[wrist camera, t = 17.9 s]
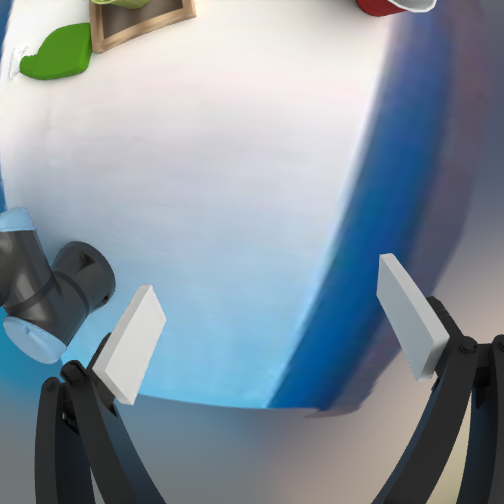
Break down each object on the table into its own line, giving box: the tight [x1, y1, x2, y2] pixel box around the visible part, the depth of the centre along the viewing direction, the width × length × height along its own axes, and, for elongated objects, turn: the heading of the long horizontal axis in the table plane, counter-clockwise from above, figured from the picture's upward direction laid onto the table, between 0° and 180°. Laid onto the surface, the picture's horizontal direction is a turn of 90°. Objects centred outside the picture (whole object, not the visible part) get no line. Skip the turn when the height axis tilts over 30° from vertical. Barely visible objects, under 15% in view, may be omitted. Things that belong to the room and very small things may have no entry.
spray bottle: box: [9, 23, 92, 80], centre depth 28 cm, size 3×11×24 cm
